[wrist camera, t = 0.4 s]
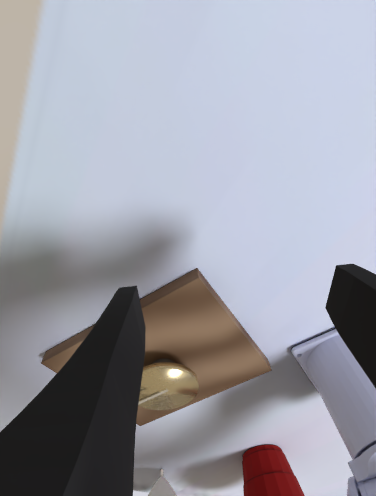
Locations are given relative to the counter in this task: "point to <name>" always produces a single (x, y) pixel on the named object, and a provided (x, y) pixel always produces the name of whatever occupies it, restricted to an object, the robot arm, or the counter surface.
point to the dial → (167, 386)
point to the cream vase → (162, 488)
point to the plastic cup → (268, 473)
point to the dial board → (187, 340)
